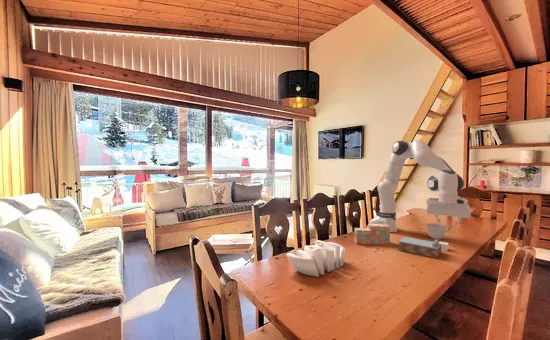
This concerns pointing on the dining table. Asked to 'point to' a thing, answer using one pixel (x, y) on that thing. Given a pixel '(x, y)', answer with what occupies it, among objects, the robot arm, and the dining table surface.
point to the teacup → (437, 230)
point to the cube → (444, 246)
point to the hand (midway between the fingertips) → (447, 223)
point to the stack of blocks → (373, 234)
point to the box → (419, 250)
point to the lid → (421, 243)
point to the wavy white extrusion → (318, 258)
